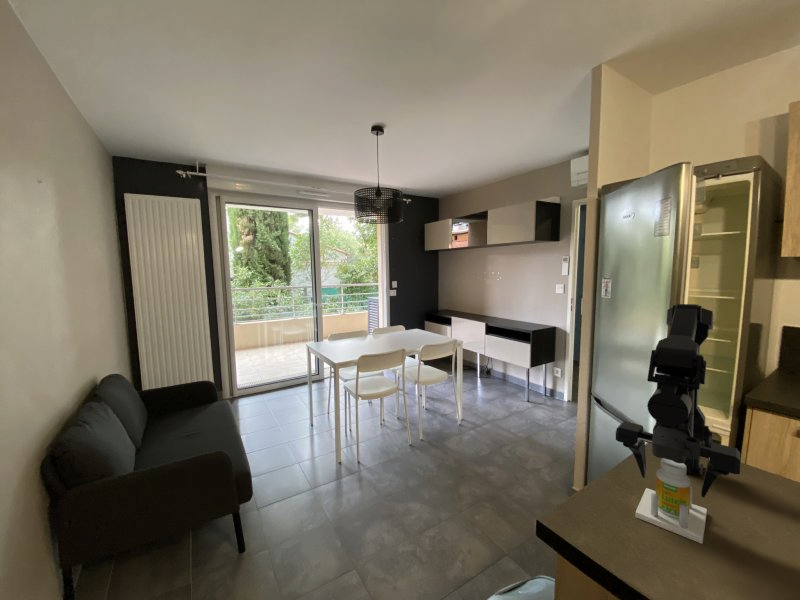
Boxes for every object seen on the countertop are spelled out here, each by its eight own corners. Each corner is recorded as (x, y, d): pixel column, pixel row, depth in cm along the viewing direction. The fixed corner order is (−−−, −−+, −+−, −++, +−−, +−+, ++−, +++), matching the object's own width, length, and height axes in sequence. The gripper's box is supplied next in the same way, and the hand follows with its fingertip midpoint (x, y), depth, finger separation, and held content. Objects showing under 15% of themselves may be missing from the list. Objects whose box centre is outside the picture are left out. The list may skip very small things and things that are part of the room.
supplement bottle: (657, 514, 67) (659, 466, 66) (652, 498, 71) (654, 453, 71) (693, 523, 64) (695, 473, 64) (685, 506, 69) (686, 460, 68)
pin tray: (646, 492, 75) (646, 470, 75) (706, 513, 68) (707, 489, 68) (635, 516, 68) (635, 492, 67) (702, 543, 60) (703, 517, 60)
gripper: (609, 408, 68) (607, 484, 68) (742, 438, 54) (737, 531, 55) (622, 395, 75) (621, 463, 76) (741, 418, 62) (738, 500, 63)
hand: (672, 486), depth 68 cm, fingers open, 9 cm apart
